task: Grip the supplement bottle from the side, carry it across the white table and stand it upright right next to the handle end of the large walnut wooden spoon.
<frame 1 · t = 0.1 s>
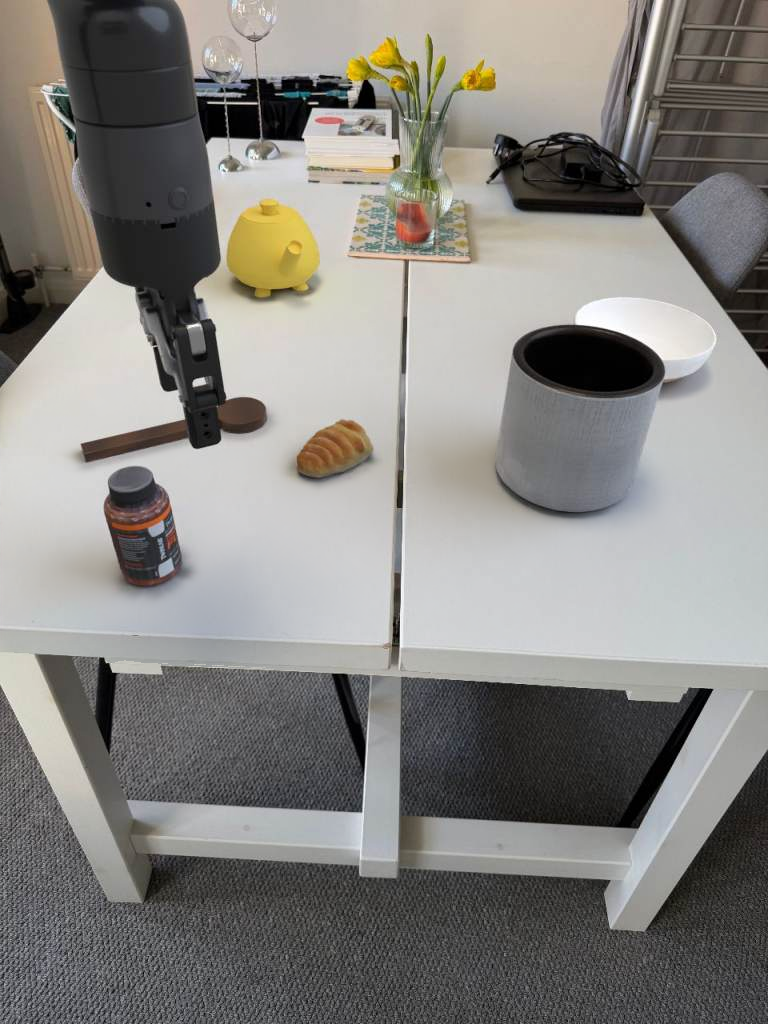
hand: (190, 414, 56), 21 cm above the table, tool pointing down, fingers open, 8 cm apart
pastry: (336, 460, 88), on the table
spoon: (176, 435, 91), on the table
supplement bottle: (153, 568, 73), on the table
planter: (561, 476, 87), on the table
teapot: (279, 289, 125), on the table
bowl: (633, 366, 107), on the table
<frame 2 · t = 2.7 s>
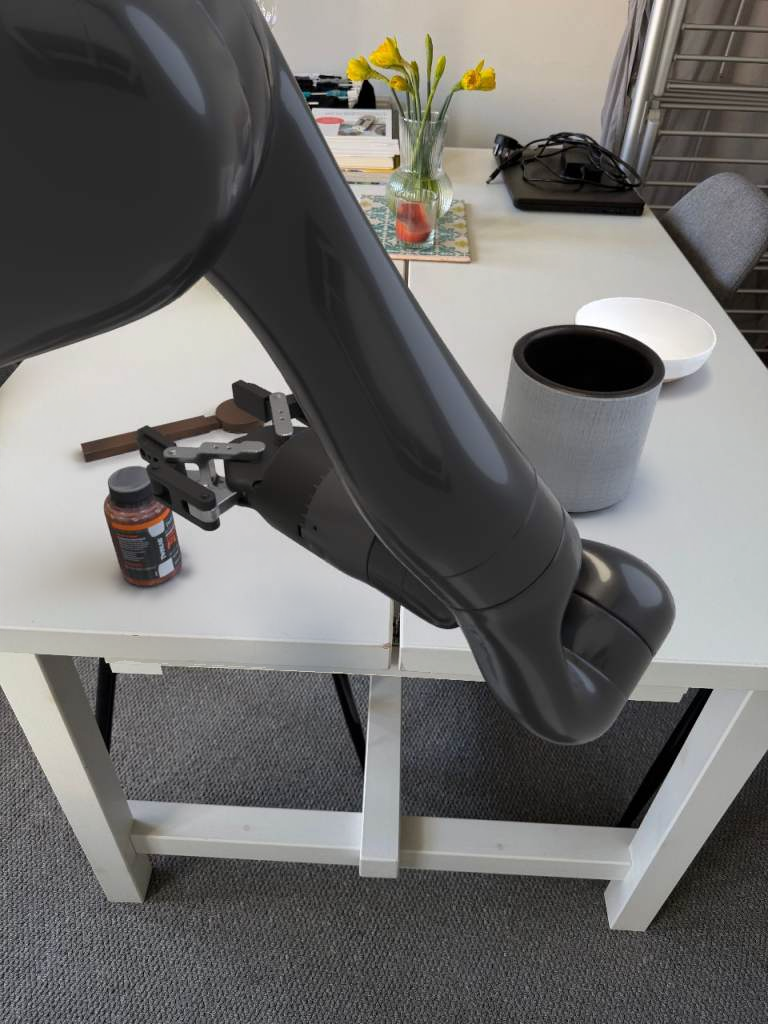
hand: (191, 414, 54), 22 cm above the table, tool horizontal, fingers open, 8 cm apart
nothing on the table moved.
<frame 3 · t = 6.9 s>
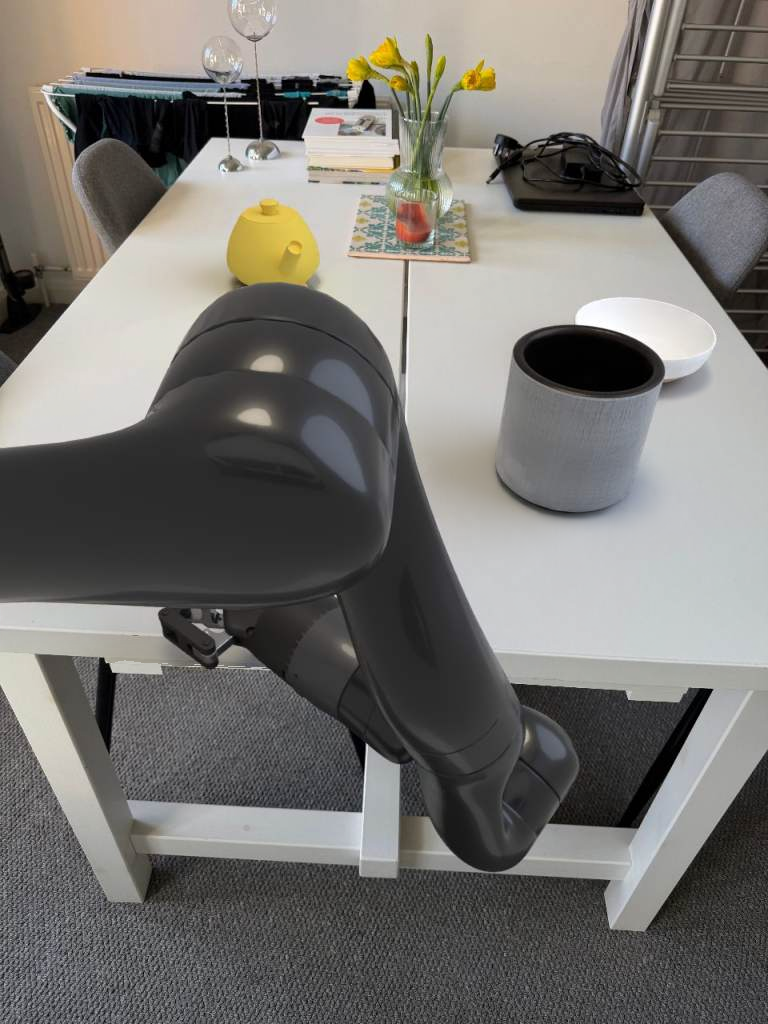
hand: (195, 551, 64), 8 cm above the table, tool horizontal, fingers open, 8 cm apart
nothing on the table moved.
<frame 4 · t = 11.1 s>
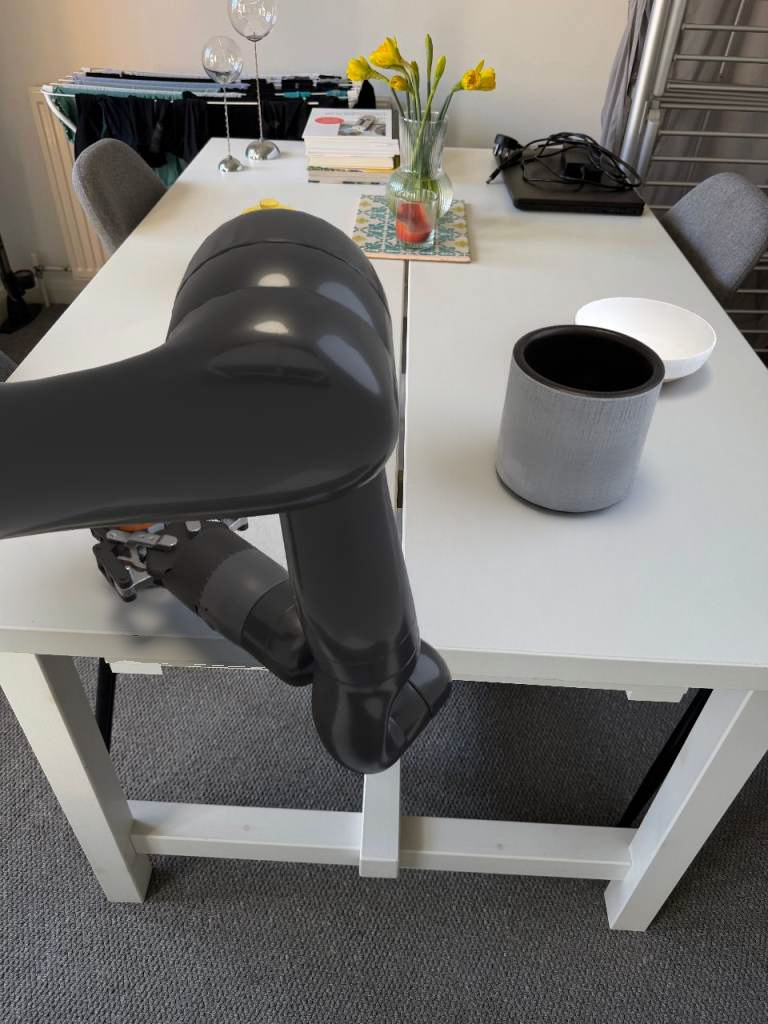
hand: (124, 503, 70), 7 cm above the table, tool horizontal, fingers closed on supplement bottle, 6 cm apart
supplement bottle: (153, 568, 73), on the table, touching gripper
everything else where it was.
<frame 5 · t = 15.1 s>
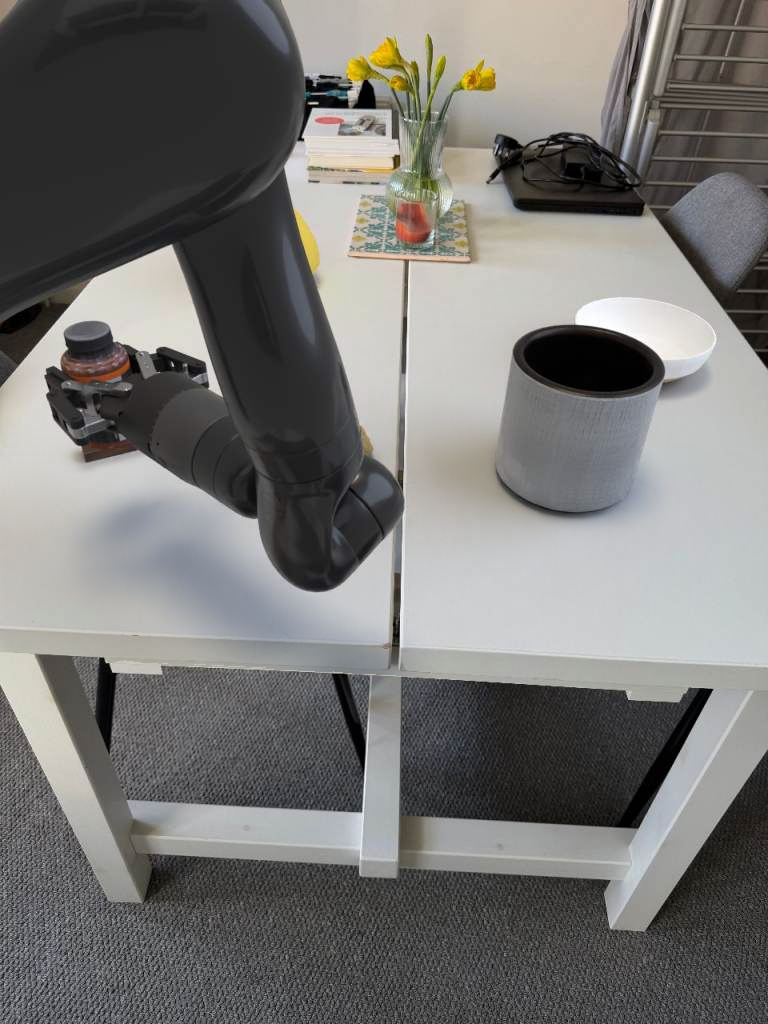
hand: (83, 363, 69), 18 cm above the table, tool horizontal, fingers closed on supplement bottle, 6 cm apart
supplement bottle: (115, 437, 72), point 10 cm above the table, touching gripper
everything else where it was.
when the fingers open (7 cm above the table, at t = 19.5 s): supplement bottle stays where it is, on the table.
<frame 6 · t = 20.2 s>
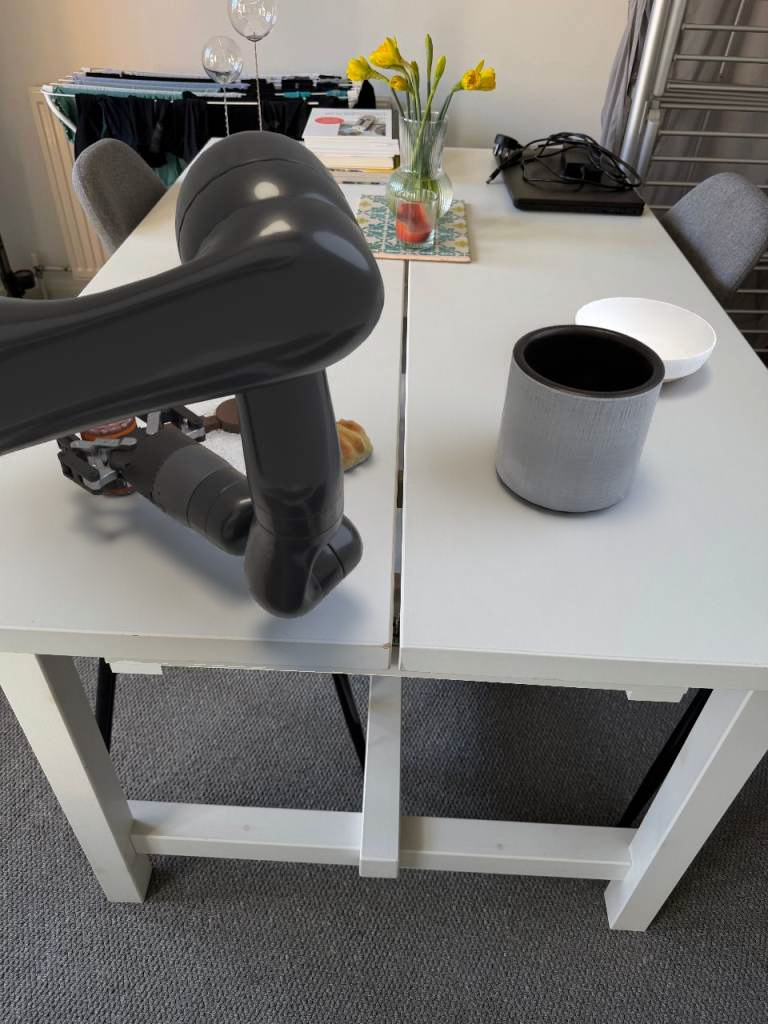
hand: (96, 418, 80), 8 cm above the table, tool horizontal, fingers open, 8 cm apart
supplement bottle: (123, 482, 84), on the table
everything else where it was.
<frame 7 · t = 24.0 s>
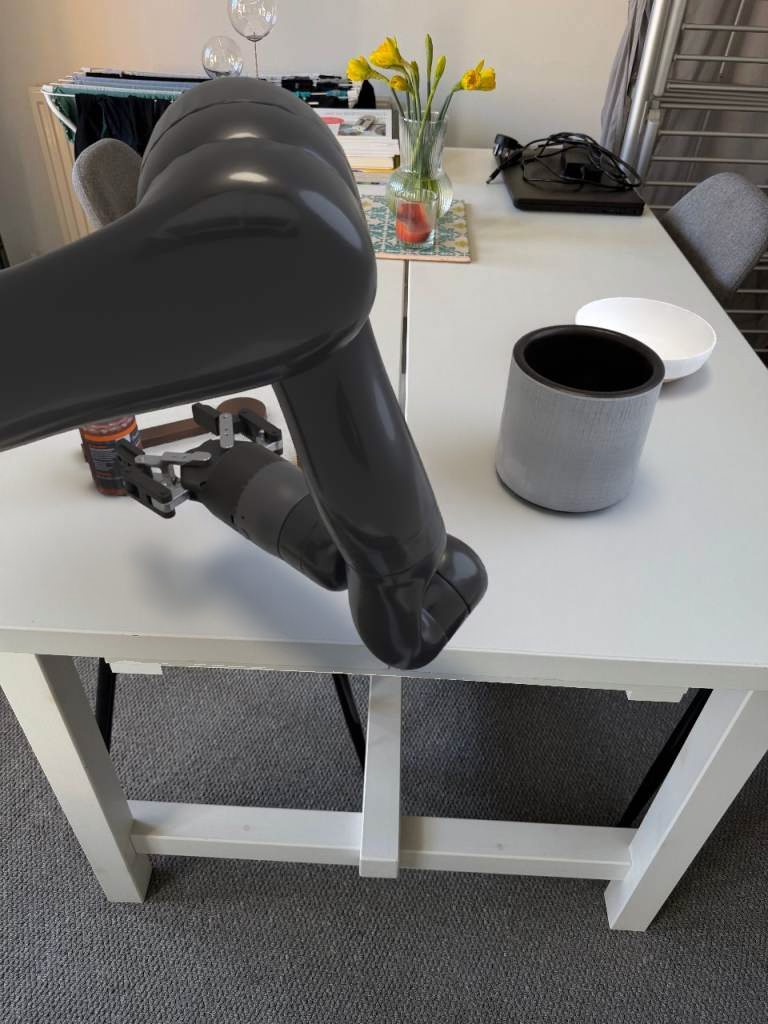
hand: (158, 428, 70), 12 cm above the table, tool horizontal, fingers open, 8 cm apart
nothing on the table moved.
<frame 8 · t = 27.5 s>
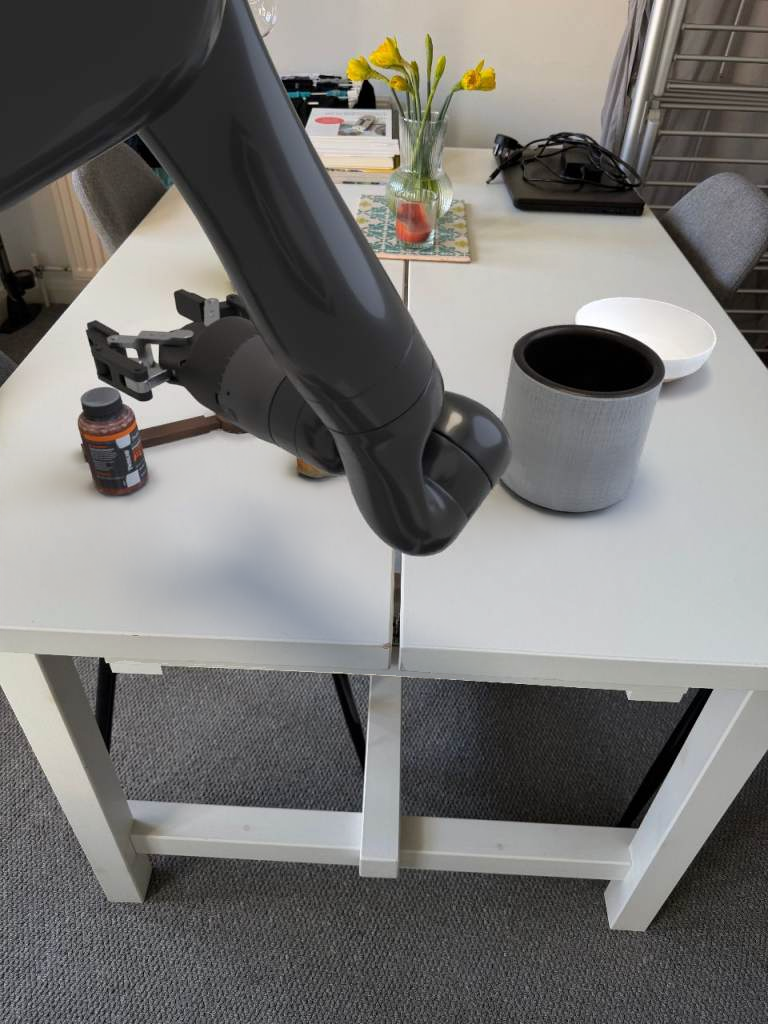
hand: (136, 315, 63), 24 cm above the table, tool horizontal, fingers open, 8 cm apart
nothing on the table moved.
at the end: supplement bottle inside the target area on the table beside the spoon (0.6 cm from its centre), on the table; supplement bottle tilted 0°; the gripper is holding nothing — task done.
